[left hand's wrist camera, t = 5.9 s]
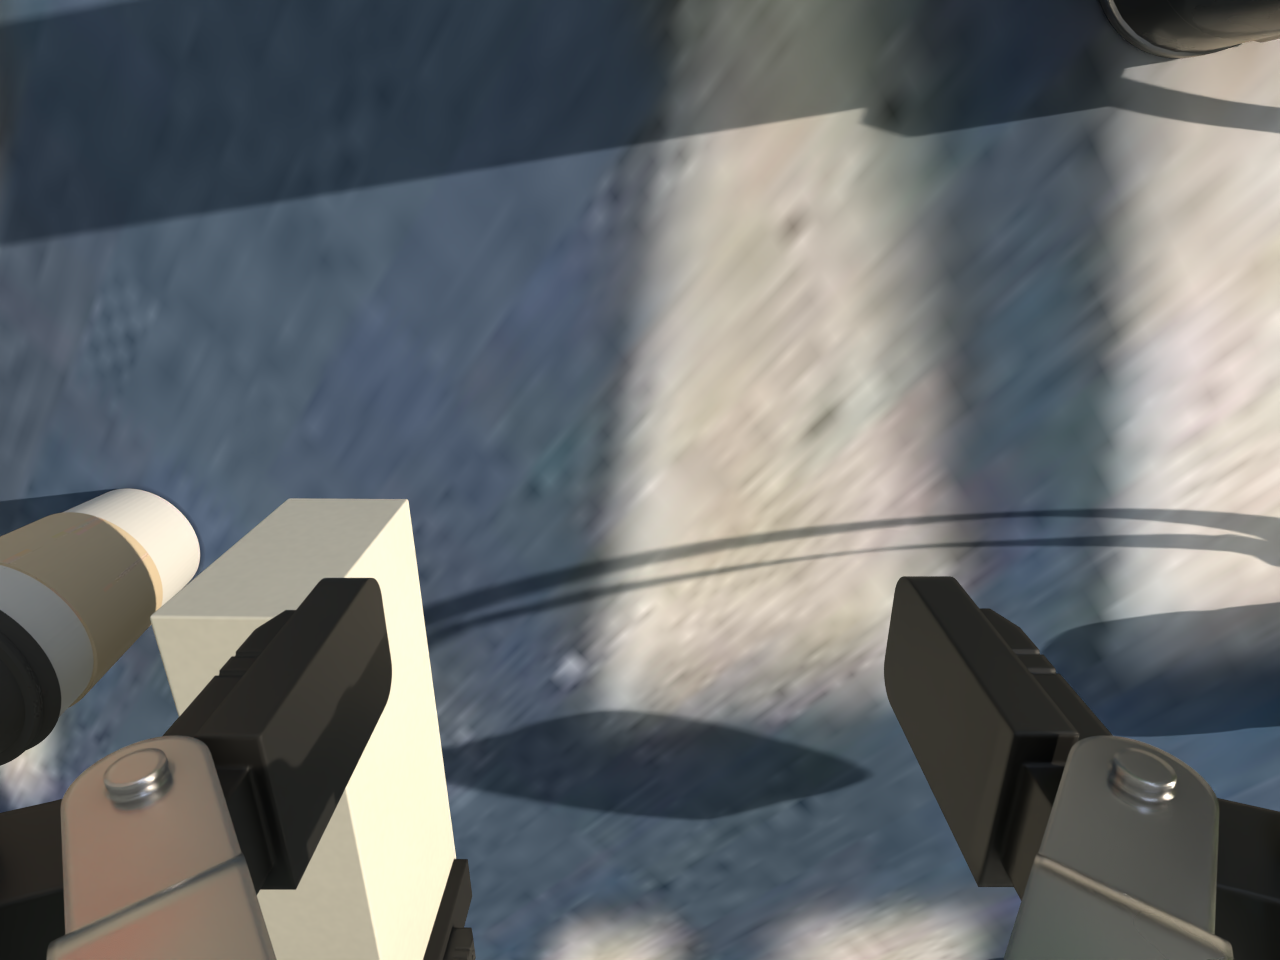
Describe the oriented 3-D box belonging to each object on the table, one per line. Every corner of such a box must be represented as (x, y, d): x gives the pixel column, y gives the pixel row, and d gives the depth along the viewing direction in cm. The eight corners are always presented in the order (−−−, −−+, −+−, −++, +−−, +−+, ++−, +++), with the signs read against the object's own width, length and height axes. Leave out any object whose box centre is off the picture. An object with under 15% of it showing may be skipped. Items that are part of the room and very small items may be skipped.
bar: (288, 497, 32) (147, 616, 23) (408, 498, 32) (313, 618, 23) (370, 909, 41) (292, 1104, 33) (463, 911, 41) (410, 1107, 32)
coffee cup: (69, 592, 45) (-197, 777, 31) (57, 455, 41) (-247, 594, 28) (219, 621, 45) (25, 816, 31) (220, 489, 42) (2, 641, 28)
